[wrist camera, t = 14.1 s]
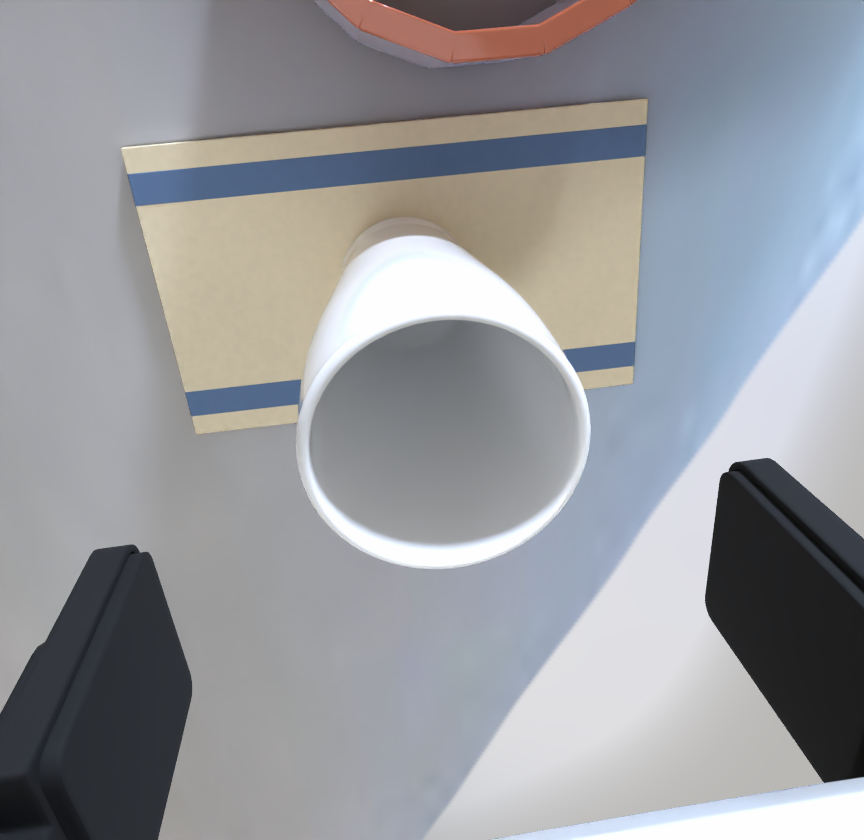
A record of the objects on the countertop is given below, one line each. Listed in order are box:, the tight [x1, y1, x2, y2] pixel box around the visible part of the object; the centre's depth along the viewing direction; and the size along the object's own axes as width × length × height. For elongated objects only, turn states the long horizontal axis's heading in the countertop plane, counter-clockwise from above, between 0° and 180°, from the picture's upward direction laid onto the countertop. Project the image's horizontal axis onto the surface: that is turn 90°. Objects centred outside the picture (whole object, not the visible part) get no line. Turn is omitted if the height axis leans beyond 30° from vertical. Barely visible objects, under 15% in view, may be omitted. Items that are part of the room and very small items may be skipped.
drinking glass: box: [296, 216, 591, 569], centre depth 22 cm, size 7×7×15 cm
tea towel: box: [121, 98, 648, 434], centre depth 29 cm, size 20×12×1 cm, turn 95°
